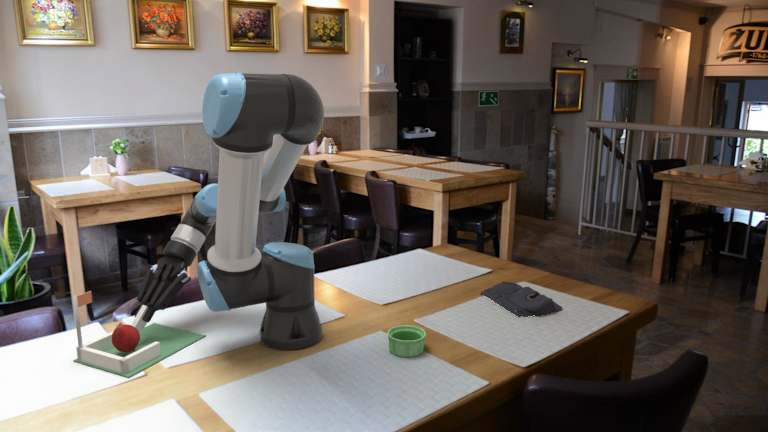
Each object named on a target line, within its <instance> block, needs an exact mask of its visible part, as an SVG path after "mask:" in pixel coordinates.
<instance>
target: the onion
mask: <svg viewBox="0 0 768 432" xmlns="http://www.w3.org/2000/svg"><path fill="white" fill-rule="evenodd" d="M115 326H116V327H115V328H114V330H113V331H112V332H113V334H112V344H113V346H114V347H115V348H116V349H117V350H119V351H121V352H130V351H133V350H135V348H136V347H137V345H138V343H139V341H140V334H139V331H138V330H137V329H136V328H135V327H133V326H131V324H127V323H126V324H123V322H120V321H119V322H117V324H116V325H115Z"/></svg>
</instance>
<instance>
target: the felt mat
mask: <svg viewBox="0 0 768 432" xmlns="http://www.w3.org/2000/svg"><path fill="white" fill-rule="evenodd" d="M203 338H206V334H202V333H197V332H193V331H189V330H186V329H181V328H177V327H173V326H170V325H169V326H168V325H164V324H160V323H156V322H153V323H150V324H149V325H146V326H145V327H144V329H143V331H142V333H141V334H140V341H139V343H138V345H137V347H136V348H135V350H133V351H130V352H121V351H119V350H117V349H116V348H115V347H114V346H113V347H111V348H109V349H107V350H104V351H103V352H106V353H110V354H113V355H117V356H120V357H126V356H128V355H130V354H132V353H134V352H136V351H138V350H140V349H142V348H144V347H146V346H148V345H150V344H152V343H154V342H160V351H161V355H159V356H157V357H156V358H154V359H152V360H150V361H148V362H146V363H144V364H142V365H140V366H139V367H137V368H135V369H133V370H131V371H129V372H127V373H125V374H123V373H119V372H116V371H113V370H109V369H106V368H103V367H99V366H96V365H93V364H89V363H86V362H83V361H79V360H78V357H77V358H75V359H73V362H74V363H77V364H80V365H83V366H87V367H90V368H94V369H97V370H100V371H104V372H107V373H111V374H114V375H116V376H120V377H123V378H126V379H130V378H132V377H134V376H135V375H137V374H139V373H141V372H143V371H144V370H145V371H146V370H148V369H149V368H150V367H153V366H154V365H156V364H157V363H159V362H161V361H164V360H165V359H167V358H169V357H171V356H172V355H174V354H176V353H177V352H179V351H181V350H183V349H186V348H187V347H188V346H191V345H193V344H194V343H196V342H198V341H200V340H201V339H203Z"/></svg>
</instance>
